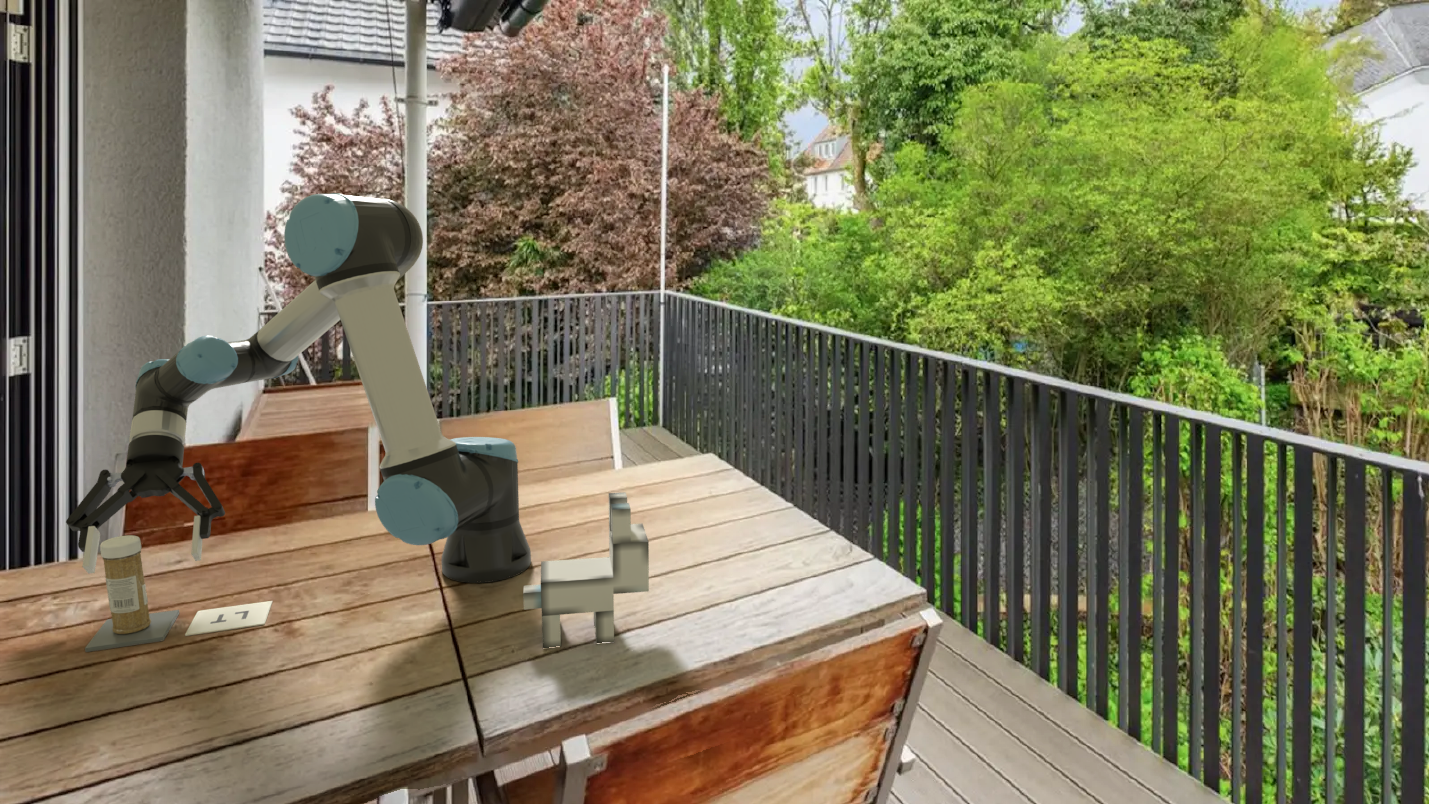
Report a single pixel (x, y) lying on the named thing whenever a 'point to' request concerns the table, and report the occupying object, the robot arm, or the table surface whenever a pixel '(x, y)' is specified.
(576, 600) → the toy llama
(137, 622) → the sprinkles bottle
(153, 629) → the coaster
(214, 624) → the tile
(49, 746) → the table surface
